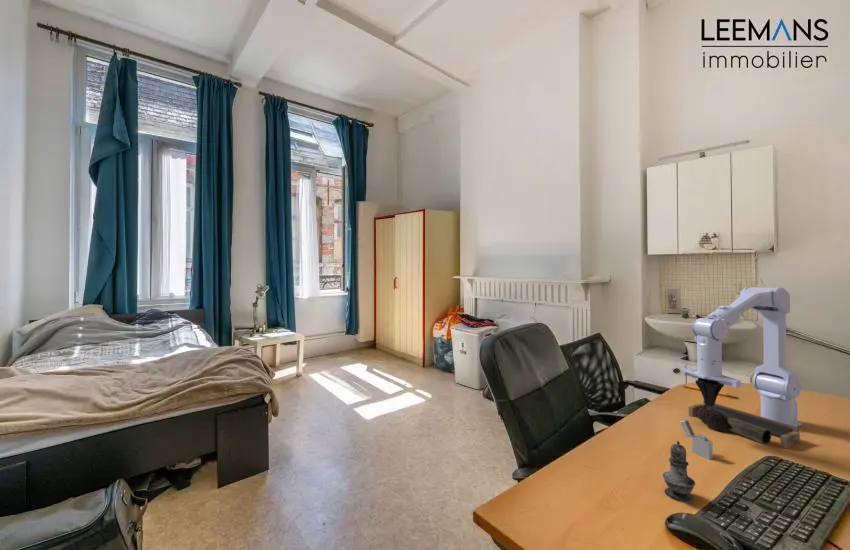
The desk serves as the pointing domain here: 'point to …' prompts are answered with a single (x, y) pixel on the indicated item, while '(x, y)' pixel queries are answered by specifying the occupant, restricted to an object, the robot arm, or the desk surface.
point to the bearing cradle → (756, 423)
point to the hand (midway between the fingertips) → (709, 405)
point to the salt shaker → (678, 476)
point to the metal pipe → (733, 425)
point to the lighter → (698, 441)
